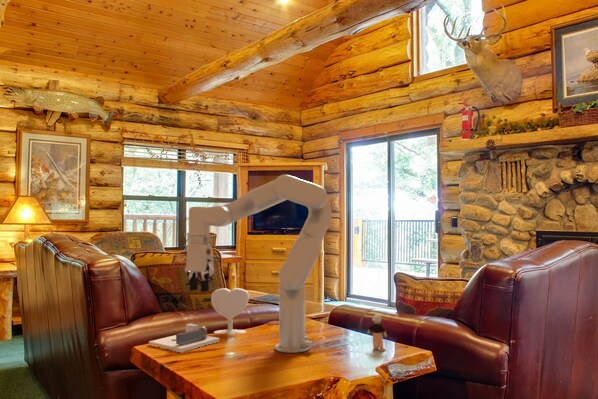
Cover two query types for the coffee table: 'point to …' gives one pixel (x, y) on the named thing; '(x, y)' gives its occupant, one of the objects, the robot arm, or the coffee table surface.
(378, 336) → the grandmother figurine
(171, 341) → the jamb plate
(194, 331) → the lock bar
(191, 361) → the coffee table surface
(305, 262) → the robot arm
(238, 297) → the heart sculpture
